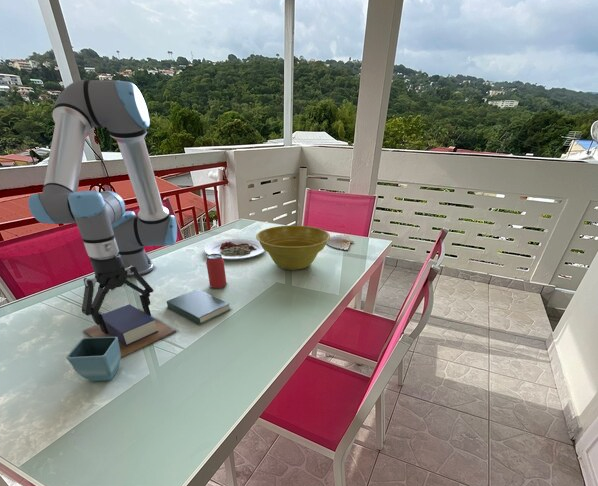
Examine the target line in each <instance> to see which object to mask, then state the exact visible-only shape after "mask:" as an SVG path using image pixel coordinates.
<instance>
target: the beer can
mask: <svg viewBox="0 0 598 486" xmlns="http://www.w3.org/2000/svg"><path fill="white" fill-rule="evenodd" d="M205 263H206V269H207V276H208V277H207V278H208V281H209V286H210V287H211V288H213V289H223V288H224V287H226V286H227V284H228V283H227V276H226V268H225V259H223V258H222V255H220V254H210V255H208V254H207V255H206V260H205Z"/></svg>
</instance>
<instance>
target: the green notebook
mask: <svg viewBox="0 0 598 486" xmlns="http://www.w3.org/2000/svg"><path fill="white" fill-rule="evenodd" d="M165 302H166V306H167V308H168V309H169V310H172V311H173V312H174V313H177V314H179V315H181V316H183V317H185V318H187V319H188V320H190V321H192V322H194V323H196V324H197V325H202V324H204V323H206V322H208V321H210V320H212V319H214V318H217V317H218V316H221V315H223V314H225V313H227V312H230V311H231V308H230V302H227V301H225V300H222V299H220V298H219V297H216V296H214V295H212V294H209V293H207V292H204V291H202V290H200V289H198V288H196V289H194V290H191V291H188V292H186V293H184V294H181V295H178V296H176V297H172V298H170V299H169V300H166V301H165Z"/></svg>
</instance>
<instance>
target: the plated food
mask: <svg viewBox="0 0 598 486" xmlns="http://www.w3.org/2000/svg"><path fill="white" fill-rule="evenodd" d="M264 252H266V251H265V250H264V249H263V248H262V246H261V244H260V242H259V241H258V240H257V239H249V238H230V239H229V238H227V239H221V240H217V241H213V242H211V243H209V244H207V245H206V246H205V247H204V253H205V254H206V255H207V256H208V255H210V254H220V255H222V258H223V260H232V261H233V260H245V259H249V258H253V257H257V256H260V255H261V254H263V253H264Z"/></svg>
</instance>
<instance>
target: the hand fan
mask: <svg viewBox="0 0 598 486" xmlns="http://www.w3.org/2000/svg"><path fill="white" fill-rule="evenodd" d="M352 243H354V240H351V239H350V238H349V237H348V236H347V234H345V233H343V234H336V235H330V239H329V240H328V241H327V242H326V245H328V246H329V247H331V248H334V249H337V250H339V249H340V250H345V251H348V250H349V247H350V246H351V244H352Z"/></svg>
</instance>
